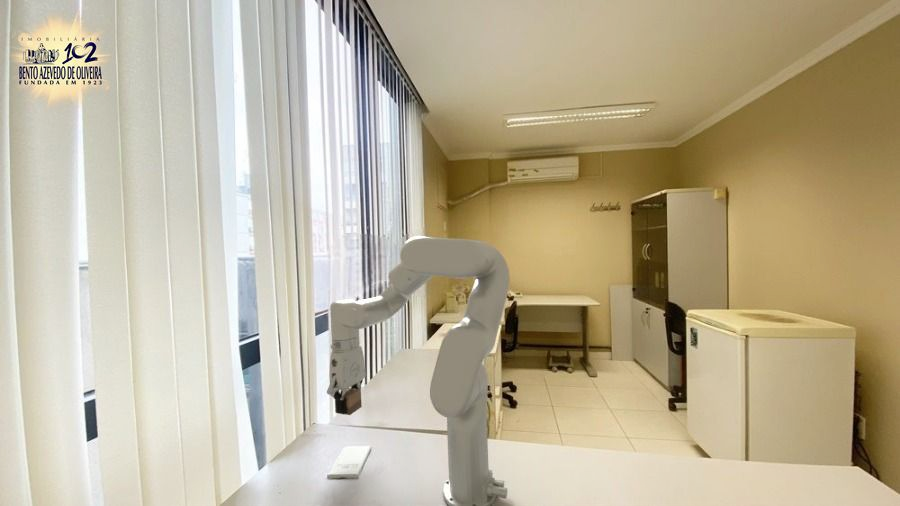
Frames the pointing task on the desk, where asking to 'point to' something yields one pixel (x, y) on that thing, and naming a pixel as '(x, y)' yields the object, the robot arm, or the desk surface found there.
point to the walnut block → (352, 400)
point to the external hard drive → (350, 462)
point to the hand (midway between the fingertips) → (348, 408)
